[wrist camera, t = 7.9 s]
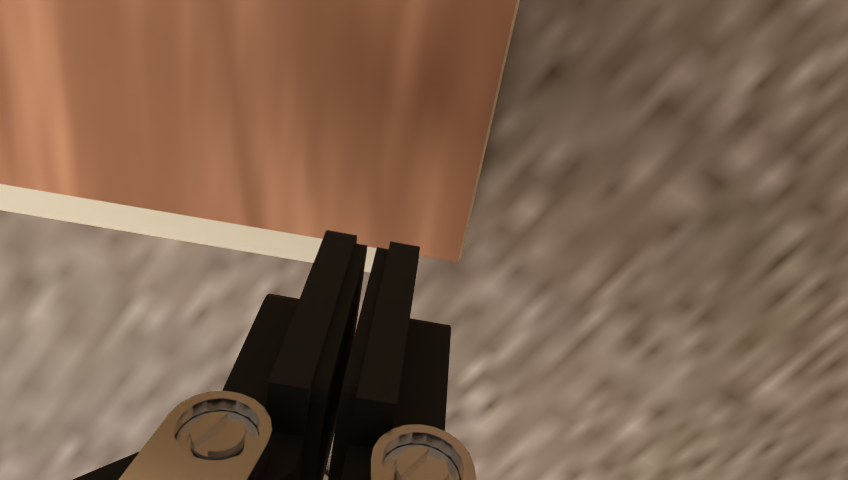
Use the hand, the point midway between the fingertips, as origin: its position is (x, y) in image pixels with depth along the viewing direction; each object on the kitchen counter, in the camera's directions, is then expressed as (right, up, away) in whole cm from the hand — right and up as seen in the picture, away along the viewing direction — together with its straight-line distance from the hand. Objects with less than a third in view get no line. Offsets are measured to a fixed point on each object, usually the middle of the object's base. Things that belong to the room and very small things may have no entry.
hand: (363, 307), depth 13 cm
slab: (+3, +4, +8) cm, 9 cm away
